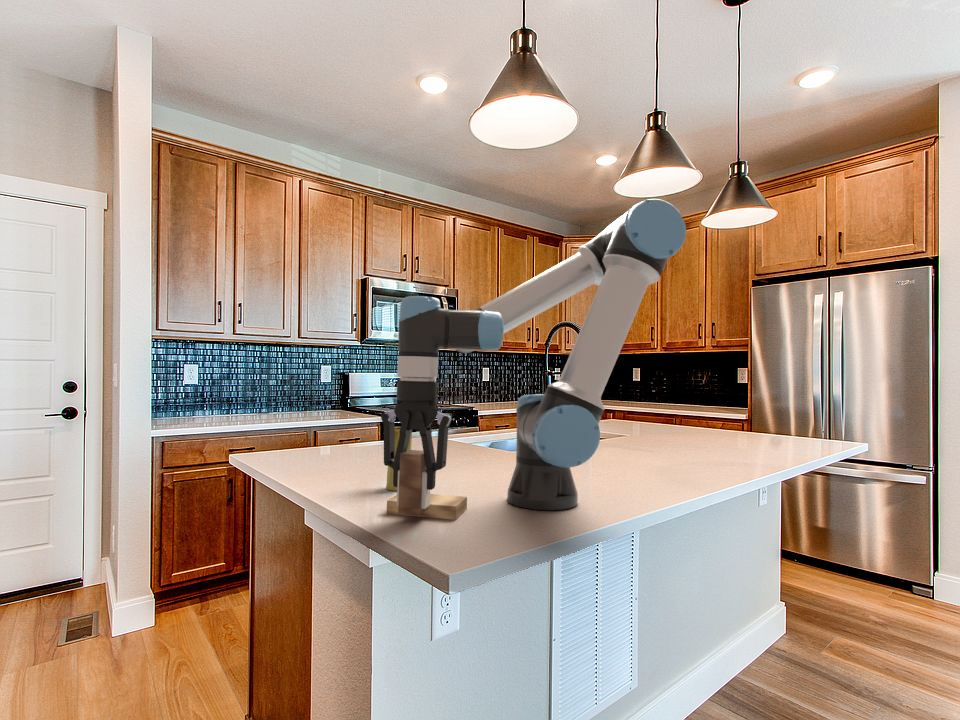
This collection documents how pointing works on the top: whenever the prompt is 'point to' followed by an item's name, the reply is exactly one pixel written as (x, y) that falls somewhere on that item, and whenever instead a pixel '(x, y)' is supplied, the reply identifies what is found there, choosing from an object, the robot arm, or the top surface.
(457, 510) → the board
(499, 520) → the top surface
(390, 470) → the vase
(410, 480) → the upright wooden block
